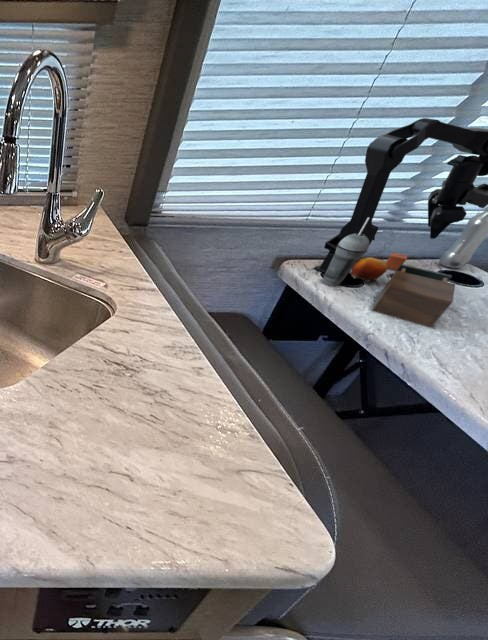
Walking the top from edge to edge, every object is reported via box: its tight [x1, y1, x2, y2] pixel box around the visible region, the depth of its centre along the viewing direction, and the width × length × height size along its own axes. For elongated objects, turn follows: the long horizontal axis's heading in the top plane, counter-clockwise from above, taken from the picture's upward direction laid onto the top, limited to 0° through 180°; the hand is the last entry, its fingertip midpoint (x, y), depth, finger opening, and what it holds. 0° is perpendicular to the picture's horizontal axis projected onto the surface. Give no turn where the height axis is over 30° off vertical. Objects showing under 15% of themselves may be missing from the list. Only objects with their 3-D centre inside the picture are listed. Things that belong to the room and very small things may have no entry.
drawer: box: [396, 263, 453, 282], centre depth 114 cm, size 17×11×6 cm
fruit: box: [350, 256, 388, 284], centre depth 123 cm, size 8×8×8 cm
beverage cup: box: [321, 218, 370, 287], centre depth 117 cm, size 7×7×20 cm
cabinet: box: [372, 270, 456, 328], centre depth 108 cm, size 14×13×8 cm
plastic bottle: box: [438, 205, 488, 269], centre depth 124 cm, size 6×7×20 cm
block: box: [385, 252, 409, 271], centre depth 130 cm, size 4×4×4 cm
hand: (431, 232), depth 122 cm, fingers open, 9 cm apart
